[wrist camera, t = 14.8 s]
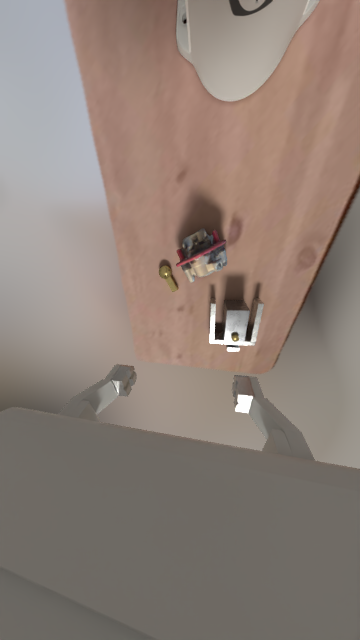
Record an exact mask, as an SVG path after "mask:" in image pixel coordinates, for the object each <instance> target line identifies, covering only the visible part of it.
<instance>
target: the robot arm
mask: <svg viewBox="0 0 360 640" xmlns="http://www.w3.org/2000/svg"><path fill="white" fill-rule="evenodd" d="M319 1H320V0H178V7H177V25H176V40H177V47H178V50H179V52H180V53H181V55H182V56H183V57H184V58H186V59H187V60H188V61H189V62H191V63H192V64H193V66H194V67H195V69H196V71H197V73H198V76H199V78H200V80H201V82H202V84H203V85H204V87H205V88H206V89H207V91H208V92H209V93H210V94H211V95H213V96H214V97H216V98H217V99H220V100H223V101H237V100H240V99H243V98H245V97H247V96H249V95H250V94H252V93H253V92H255V91H256V90H257V89H258V88H259V87H260V86H261V85H263V83H264V82H265V81H266V80H267V79H268V78H269V77H270V75H271V74H272V73H273V71H274V70H275V68H276V67H277V65H278V64H279V62H280V60H281V59H282V57H283V55H284V53H285V51H286V49H287V47H288V45H289V43H290V41H291V39H292V38H293V36H294V34H295V32H296V31H297V30H298V28H299V27H300V26H301V25H302V24H303V23H304V22H305V20H306V19H307V18H308V17H309V16H310V14H311V13H312V12H313V10H314V9H315V8H316V6H317V4H318V3H319ZM185 19H187V23H186V24H184V23H183V22H184V20H185ZM135 381H136V373H135V372H134V366H128V365H119V364H117V365H115V366H114V367H113V369H112V370H111V371H110V373H109V374H108V375H107V376H106V378H105V379H104V380H101V381H99V382H98V383H96V384H94V385H93V386H91V387H89V388H88V389H86V390H85V391H83V392H81V393H79V394H78V395H76V396H75V397H73V398H72V399H71V400H70V401H69V402H68V403H67V405H66V406H65V407H64V408H63V409H62V410H61V411H60V412H59V414H52V413H46V412H41V411H36V410H30V409H25V408H20V407H12V408H9V409H7V410H4V411H2V412H0V640H360V469H357V468H352V467H347V466H341V465H335V464H329V463H324V462H319V461H315V459H314V457H313V455H312V453H311V451H310V449H309V447H308V445H307V443H306V441H305V439H304V437H303V434H302V433H301V432H300V431H299V430H298V429H297V428H296V427H295V426H294V425H293V424H292V423H291V422H290V421H289V420H288V419H287V418H286V417H285V416H284V415H283V414H282V413H281V412H280V411H279V410H278V409H277V408H276V407H275V406H274V405H273V404H272V403H271V402H270V401H269V400H268V399H266V398H264V396H263V393H262V390H261V387H260V384H259V382H258V379H257V377H250V376H240V375H239V376H238V375H234V382H233V387H232V390H233V396H234V397H235V399H234V404H235V410H236V411H238V412H244V413H249V415H250V417H251V418H252V420H253V421H254V422H255V424H256V425H257V427H258V428H259V429H260V431H261V432H262V434H263V435H264V436H265V438H266V439H267V441H266V443H265V445H264V448H263V451H258V450H252V449H247V448H241V447H235V446H230V445H224V444H219V443H213V442H208V441H202V440H197V439H191V438H186V437H180V436H175V435H169V434H164V433H158V432H152V431H147V430H141V429H135V428H130V427H124V426H118V425H114V424H108V423H102V422H100V419H99V417H98V416H97V414H98V413H99V412H100V411H102V410H103V409H104V408H105V407H106V406H107V405H109V404H110V403H111V402H112V401H113V400H114V399H115V398H117V397H118V395H119V396H128V395H129V393H130V391H131V386H132V385H134V383H135Z"/></svg>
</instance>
